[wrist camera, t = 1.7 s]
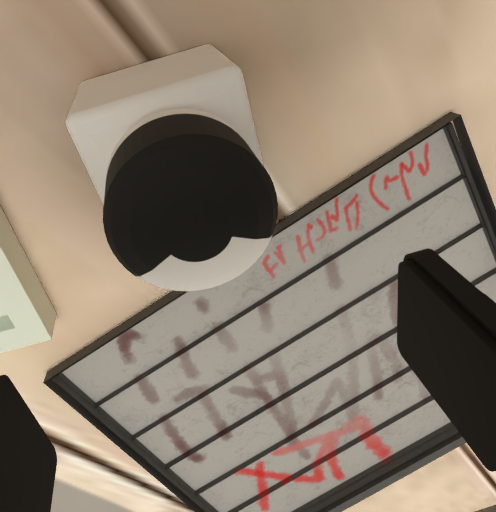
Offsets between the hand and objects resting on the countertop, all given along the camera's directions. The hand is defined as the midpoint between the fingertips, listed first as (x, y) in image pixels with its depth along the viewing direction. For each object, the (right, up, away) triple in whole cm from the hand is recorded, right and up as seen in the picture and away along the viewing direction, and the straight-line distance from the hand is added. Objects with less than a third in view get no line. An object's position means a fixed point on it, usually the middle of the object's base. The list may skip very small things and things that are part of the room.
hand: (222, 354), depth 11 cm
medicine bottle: (-4, +9, +14) cm, 18 cm away
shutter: (+8, -7, +29) cm, 31 cm away
